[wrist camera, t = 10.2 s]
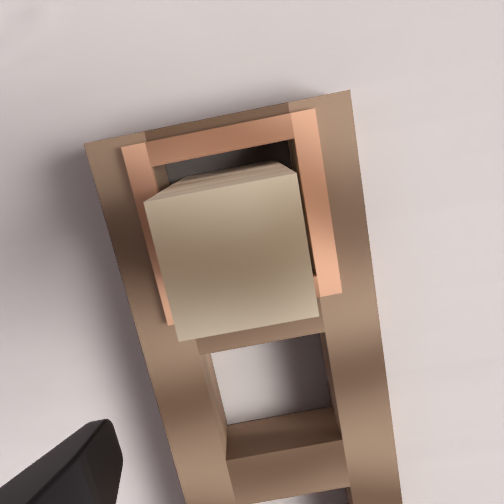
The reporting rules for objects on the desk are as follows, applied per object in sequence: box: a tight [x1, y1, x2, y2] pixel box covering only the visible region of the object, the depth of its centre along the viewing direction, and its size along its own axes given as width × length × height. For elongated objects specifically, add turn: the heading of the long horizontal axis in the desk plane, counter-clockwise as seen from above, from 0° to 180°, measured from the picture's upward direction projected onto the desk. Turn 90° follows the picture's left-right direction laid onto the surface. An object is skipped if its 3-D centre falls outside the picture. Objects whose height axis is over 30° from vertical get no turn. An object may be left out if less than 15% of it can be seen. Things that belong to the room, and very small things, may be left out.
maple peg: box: [143, 160, 319, 342], centre depth 15 cm, size 4×4×8 cm
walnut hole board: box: [84, 90, 402, 504], centre depth 20 cm, size 24×10×3 cm, turn 11°
